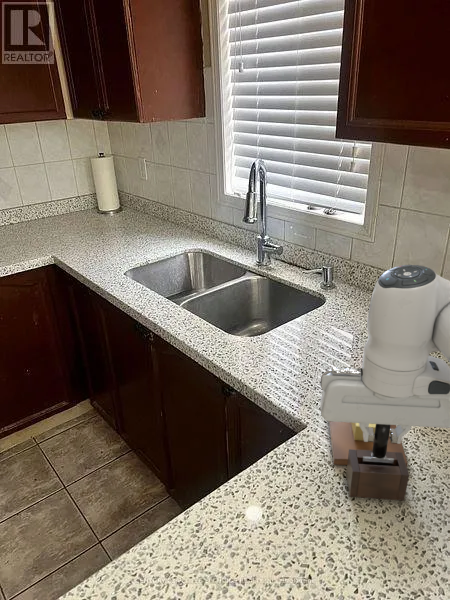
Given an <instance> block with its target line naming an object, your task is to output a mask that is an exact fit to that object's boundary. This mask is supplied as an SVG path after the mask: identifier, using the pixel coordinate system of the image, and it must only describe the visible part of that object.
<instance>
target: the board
mask: <svg viewBox="0 0 450 600" xmlns="http://www.w3.org/2000/svg"><path fill="white" fill-rule="evenodd" d="M396 427H397V425H391V426H390V429H395V428H396ZM328 428H329V437H330V444H331V454H332V462H333V465H336V466H347V462H348V453H349V449H353V450H370V451H372V449H373V442H364V441H362V440H354V435H353V430H352V424H351V423H350V422H332V421H328ZM389 434H390V432H389ZM387 452H402V453H403V456H404V460H405V463H406V466H407V467H408V465H409V462H408V459H407V455H406V453H405V449H404V446H403V443H402V442H401V443H400V444H395V443H390V439H388V445H387Z"/></svg>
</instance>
